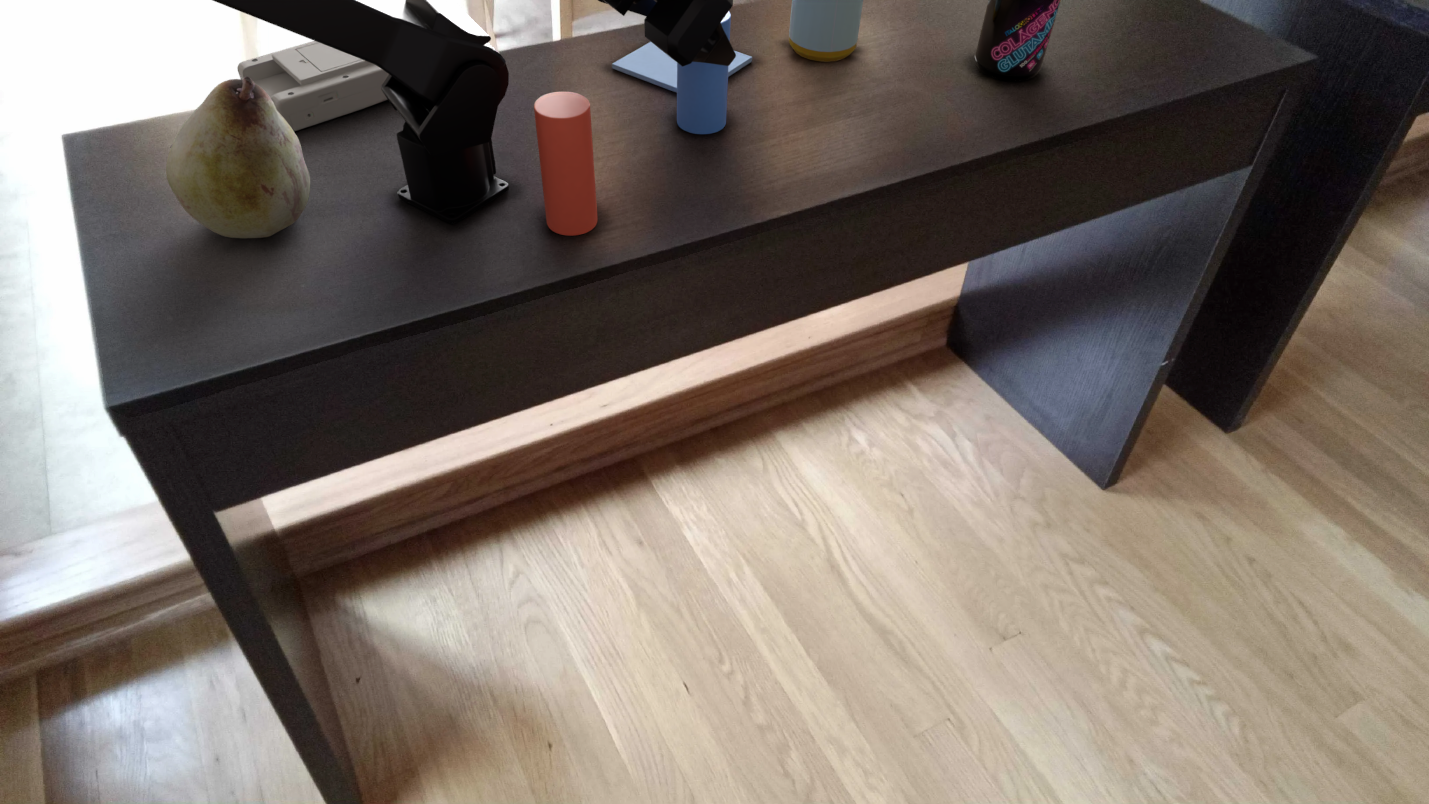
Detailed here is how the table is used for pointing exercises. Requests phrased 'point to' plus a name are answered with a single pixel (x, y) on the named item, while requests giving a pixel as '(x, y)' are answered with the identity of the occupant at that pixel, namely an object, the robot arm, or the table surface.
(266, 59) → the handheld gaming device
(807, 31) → the bottle
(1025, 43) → the supplement container
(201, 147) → the fruit
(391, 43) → the robot arm
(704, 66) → the blue peg
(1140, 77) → the table surface
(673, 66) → the blue mat
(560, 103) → the red peg
